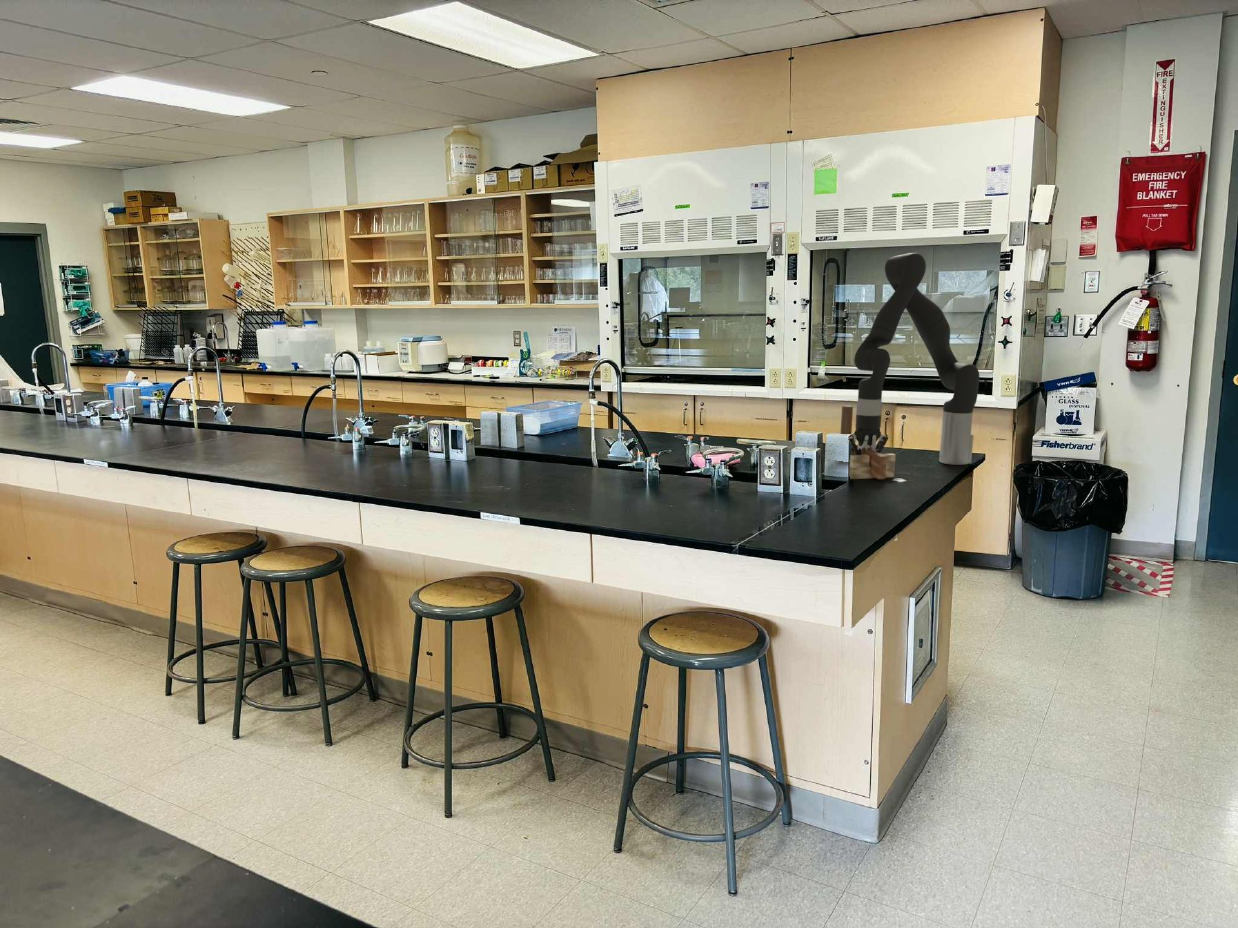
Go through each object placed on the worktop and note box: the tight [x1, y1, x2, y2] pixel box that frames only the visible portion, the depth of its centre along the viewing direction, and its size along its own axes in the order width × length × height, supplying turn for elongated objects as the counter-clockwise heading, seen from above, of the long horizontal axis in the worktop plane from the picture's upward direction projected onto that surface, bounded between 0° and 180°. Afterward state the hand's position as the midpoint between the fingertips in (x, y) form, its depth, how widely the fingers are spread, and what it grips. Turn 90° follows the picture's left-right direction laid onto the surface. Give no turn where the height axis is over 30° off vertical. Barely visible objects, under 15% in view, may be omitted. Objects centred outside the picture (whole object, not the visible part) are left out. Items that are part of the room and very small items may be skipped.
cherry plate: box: [865, 447, 887, 480], centre depth 266 cm, size 2×13×7 cm, turn 12°
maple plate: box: [848, 453, 896, 480], centre depth 266 cm, size 14×2×7 cm, turn 102°
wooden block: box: [840, 404, 868, 455], centre depth 292 cm, size 4×11×18 cm, turn 56°
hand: (865, 467), depth 270 cm, fingers closed on cherry plate, 2 cm apart
